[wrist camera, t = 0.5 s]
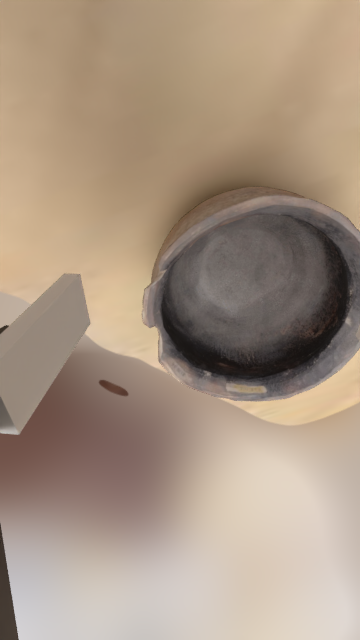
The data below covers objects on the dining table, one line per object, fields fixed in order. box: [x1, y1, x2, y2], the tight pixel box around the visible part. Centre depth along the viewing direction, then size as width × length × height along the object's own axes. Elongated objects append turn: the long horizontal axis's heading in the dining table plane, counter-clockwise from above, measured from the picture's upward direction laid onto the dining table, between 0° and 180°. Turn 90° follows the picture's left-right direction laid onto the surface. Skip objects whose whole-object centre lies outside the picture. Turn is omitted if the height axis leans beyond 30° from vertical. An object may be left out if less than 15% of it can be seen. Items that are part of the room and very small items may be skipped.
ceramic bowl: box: [142, 187, 360, 401], centre depth 34 cm, size 22×22×15 cm
